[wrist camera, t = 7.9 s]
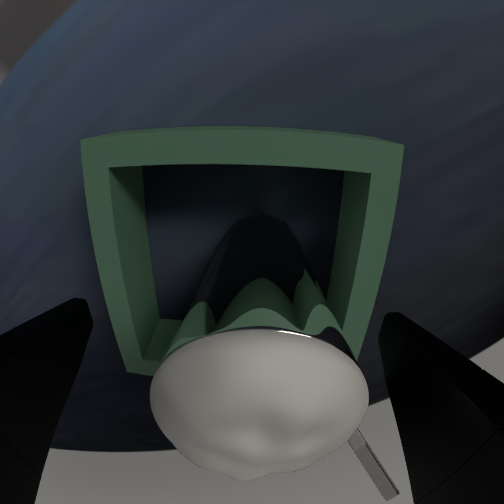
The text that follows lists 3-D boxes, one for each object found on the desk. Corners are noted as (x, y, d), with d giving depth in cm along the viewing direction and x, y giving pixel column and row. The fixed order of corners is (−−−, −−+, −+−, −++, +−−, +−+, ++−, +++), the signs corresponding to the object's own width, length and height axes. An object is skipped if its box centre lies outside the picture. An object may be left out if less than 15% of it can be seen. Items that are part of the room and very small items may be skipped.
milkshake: (304, 312, 14) (336, 525, 5) (194, 277, 14) (123, 498, 5) (348, 228, 12) (472, 443, 3) (225, 182, 12) (127, 404, 3)
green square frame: (371, 136, 11) (404, 145, 8) (336, 340, 15) (348, 383, 12) (119, 131, 11) (80, 139, 8) (145, 331, 15) (127, 372, 12)
